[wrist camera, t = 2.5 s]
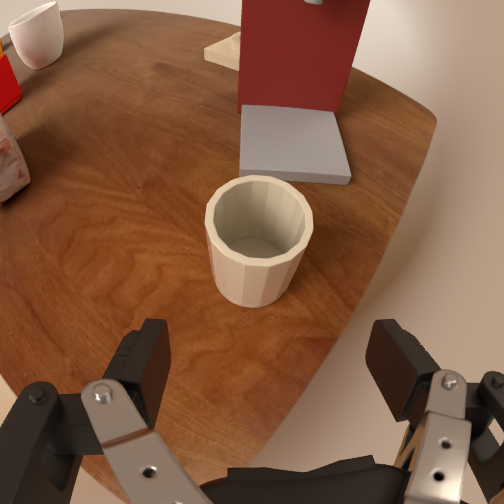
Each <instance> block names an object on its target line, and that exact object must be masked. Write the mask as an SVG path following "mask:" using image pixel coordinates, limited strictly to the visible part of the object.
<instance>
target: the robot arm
mask: <svg viewBox="0 0 504 504" xmlns="http://www.w3.org/2000/svg"><path fill="white" fill-rule="evenodd" d="M365 358H366V365H367V367H368V369H369V371H370V372H371V374H372V376H373V378H374V380H375V382H376V384H377V386H378V388H379V390H380V391H381V393H382V395H383V397H384V399H385V401H386V403H387V405H388V407H389V408H390V411H391V413H392V415H393V416H394V418H395V420H396V422H400V421H405V420H408V421H409V422H410V423H409V425H408V427H407V429H406V432H405V435H404V438H403V441H402V444H401V447H400V450H399V452H398V455H397V458H396V460H395V463H394V465H393V466H390V465H386V464H375V462H374V459H373V456H372V455H368V456H363V457H358V458H352V459H346V460H340V461H337V462H334V463H332V464H329V465H326V466H324V467H320V468H318V469H315V470H312V471H308V472H294V471H287V470H279V469H272V468H266V467H261V468H228V470H227V477H224V478H219V479H216V480H212V481H209V482H207V483H204V484H202V485H200V486H198V485H197V484H196V483H195V482H194V481H193V479H192V478H191V477H190V476H189V475H188V473H187V472H186V471H185V470H184V468H183V467H182V466H181V464H180V463H179V462H178V461H177V459H176V458H175V457H174V455H173V454H172V453H171V451H170V450H169V449H168V447H167V446H166V445H165V443H164V442H163V440H162V439H161V438H160V436H159V435H158V433H157V432H156V431H155V430H154V428H155V424H156V420H157V416H158V412H159V408H160V404H161V400H162V396H163V392H164V389H165V385H166V381H167V378H168V374H169V370H170V365H171V351H170V343H169V335H168V326H167V321H166V320H165V319H149V318H147V319H145V321H144V323H143V325H142V327H141V329H140V331H136V330H132V331H131V332H130V333H128V334H127V335H126V336H125V337H123V339H122V341H121V343H120V345H119V348H117V350H116V352H115V355H114V356H113V358H112V360H111V362H110V363H109V365H108V367H107V369H106V371H105V373H104V375H103V377H102V379H98V380H95V381H92V382H90V383H89V384H87V385H86V386H85V387H84V389H83V390H82V393H78V394H58V392H57V389H56V388H55V387H54V385H52V384H50V383H48V382H35V383H32V384H30V385H28V386H26V387H25V388H24V389H23V390H22V392H21V393H20V395H19V396H18V398H17V400H16V401H15V403H14V405H13V406H12V408H11V410H10V411H9V413H8V415H7V417H6V418H5V420H4V422H3V424H2V425H1V427H0V504H70V500H71V496H72V492H73V488H74V485H75V482H76V478H77V475H78V471H79V468H80V465H81V461H82V458H83V455H98V454H105V456H106V458H107V460H108V462H109V464H110V466H111V468H112V470H113V472H114V474H115V475H116V477H117V479H118V481H119V483H120V485H121V486H122V488H123V490H124V492H125V493H126V495H127V497H128V498H129V500H130V502H131V503H132V504H468V503H466V502H464V501H462V500H460V498H461V493H462V489H463V484H464V478H465V473H466V467H467V461H468V463H469V465H470V467H471V469H472V471H473V473H474V475H475V477H476V479H477V481H478V484H479V486H480V488H481V490H482V492H483V494H484V496H485V498H486V501H487V503H488V504H504V441H503V443H502V445H501V446H499V444H498V442H497V441H496V439H495V437H494V436H493V434H492V433H491V431H490V430H489V428H488V427H489V425H490V424H491V422H492V421H493V419H494V418H495V419H496V421H497V422H498V424H499V425H500V427H501V428H502V430H503V432H504V374H502V373H500V372H495V371H489V372H487V373H485V374H484V377H483V378H482V380H481V382H480V383H466V381H465V379H464V378H463V377H462V376H461V375H460V374H458V373H457V372H455V371H452V370H442V369H441V368H440V367H439V366H438V364H437V363H436V362H435V361H434V359H433V358H432V357H431V356H430V355H429V353H428V352H427V351H425V348H424V347H423V346H422V345H420V342H419V341H418V340H417V339H416V338H415V336H413V335H412V334H410V333H409V332H407V331H406V330H403V329H402V328H401V327H400V326H399V324H398V323H397V322H396V321H395V320H394V319H383V320H376V321H375V322H374V324H373V327H372V331H371V335H370V339H369V343H368V346H367V350H366V356H365Z"/></svg>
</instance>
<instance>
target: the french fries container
mask: <svg viewBox="0 0 504 504" xmlns="http://www.w3.org/2000/svg"><path fill="white" fill-rule="evenodd" d="M22 94H23V93H22V91H21V89H20V87H19V84H18V82H17V80H16V77H15V75H14V73H13V70H12V68H11V65H10V63H9V60H8V58H7V55H6V54H5V55H3V51H2V46H1V40H0V113H1V114H4V113H5V112H6V111H7V110H8V109H10V108H11V107H12V106H13V105H14V104H16V103H17V102H18V101H19V100H21V99H20V98H21V97H22V96H23V95H22Z"/></svg>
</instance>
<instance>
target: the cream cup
mask: <svg viewBox="0 0 504 504" xmlns="http://www.w3.org/2000/svg"><path fill="white" fill-rule="evenodd" d="M205 229H206V236H207V243H208V250H209V257H210V263H211V270H212V274H213V278H214V282H215V284H216V286H217V288H218V290H219V291H220V292H221V294H222V295H223V296H224V297H225V298H226V299H228V300H229V301H231V302H232V303H234V304H237V305H239V306H243V307H249V308H257V307H263V306H266V305H269V304H271V303H273V302H275V301H276V300H277V299H279V298H280V297H281V296H282V295H283V294H284V292H285V291H286V290H287V288H288V286H289V284H290V282H291V279H292V277H293V275H294V273H295V271H296V269H297V266H298V264H299V262H300V260H301V258H302V256H303V253H304V251H305V249H306V247H307V244H308V242H309V240H310V237H311V235H312V233H313V229H314V228H313V214H312V210H311V208H310V206H309V205H308V203H307V201H306V199H305V197H304V196H303V195H302V194H301V193H300V192H299V191H297V190H296V189H295V188H294V187H293V186H292V185H290V184H289V183H287V182H284V181H282V180H279V179H277V178H274V177H271V176H261V175H249V176H244V177H240V178H236V179H233V180H231V181H229V182H228V183H226V184H225V185H223V186H222V187H220V188H219V189H218V190H217V191H216V192H215V194H214V195H213V197H212V198H211V199H210V201H209V202H208V204H207V208H206V215H205Z"/></svg>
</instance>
